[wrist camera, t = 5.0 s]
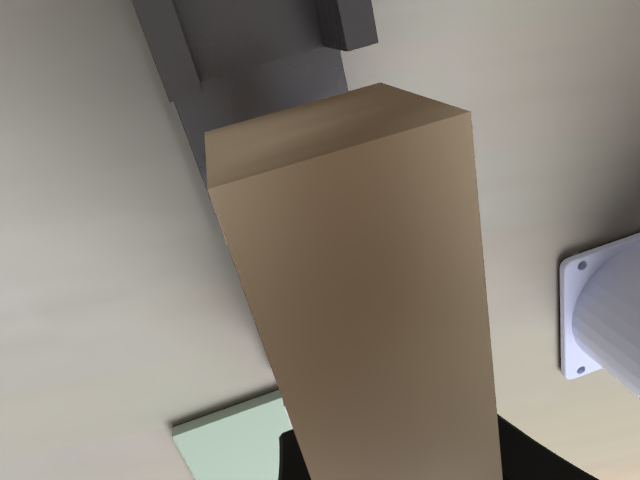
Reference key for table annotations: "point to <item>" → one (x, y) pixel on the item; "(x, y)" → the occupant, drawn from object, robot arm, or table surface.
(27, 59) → the table surface
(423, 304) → the beech rail
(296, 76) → the grey u-shaped holder
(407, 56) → the table surface
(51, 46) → the table surface
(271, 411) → the green mat
